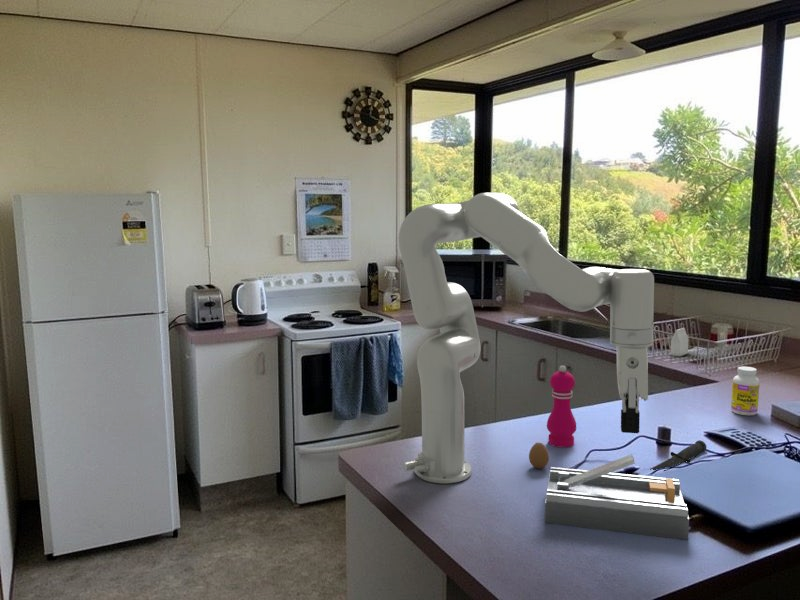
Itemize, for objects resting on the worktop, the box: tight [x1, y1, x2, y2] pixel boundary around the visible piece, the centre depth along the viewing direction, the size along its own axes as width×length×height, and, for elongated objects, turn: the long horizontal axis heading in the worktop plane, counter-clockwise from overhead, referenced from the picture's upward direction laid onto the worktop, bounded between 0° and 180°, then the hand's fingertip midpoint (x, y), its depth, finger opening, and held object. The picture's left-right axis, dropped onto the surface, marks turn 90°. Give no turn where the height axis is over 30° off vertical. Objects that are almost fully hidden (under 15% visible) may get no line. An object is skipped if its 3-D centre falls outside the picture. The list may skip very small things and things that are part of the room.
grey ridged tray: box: [544, 466, 690, 541], centre depth 124 cm, size 25×14×6 cm, turn 74°
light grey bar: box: [561, 453, 636, 488], centre depth 124 cm, size 15×3×1 cm, turn 73°
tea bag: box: [669, 327, 689, 357], centre depth 250 cm, size 4×7×10 cm, turn 131°
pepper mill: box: [546, 365, 577, 448], centre depth 159 cm, size 7×7×20 cm
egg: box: [528, 442, 550, 470], centre depth 146 cm, size 4×4×6 cm
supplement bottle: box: [730, 365, 761, 417], centre depth 180 cm, size 7×7×13 cm
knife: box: [649, 440, 707, 470], centre depth 148 cm, size 24×5×3 cm, turn 122°
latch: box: [649, 477, 675, 503], centre depth 121 cm, size 4×4×3 cm
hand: (629, 431), depth 121 cm, fingers closed
